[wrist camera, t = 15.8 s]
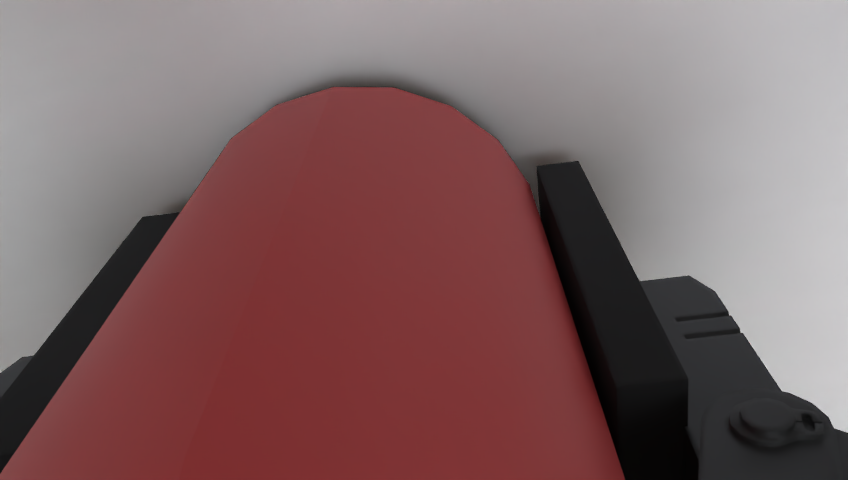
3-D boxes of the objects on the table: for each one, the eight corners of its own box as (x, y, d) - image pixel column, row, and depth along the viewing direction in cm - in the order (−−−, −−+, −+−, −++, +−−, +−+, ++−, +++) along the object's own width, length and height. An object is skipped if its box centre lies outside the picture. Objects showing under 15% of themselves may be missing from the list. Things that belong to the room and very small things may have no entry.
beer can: (363, -5, 13) (85, 624, 2) (608, 243, 15) (1060, 1187, 4) (131, 240, 15) (-591, 1183, 4) (375, 430, 17) (294, 1385, 6)
